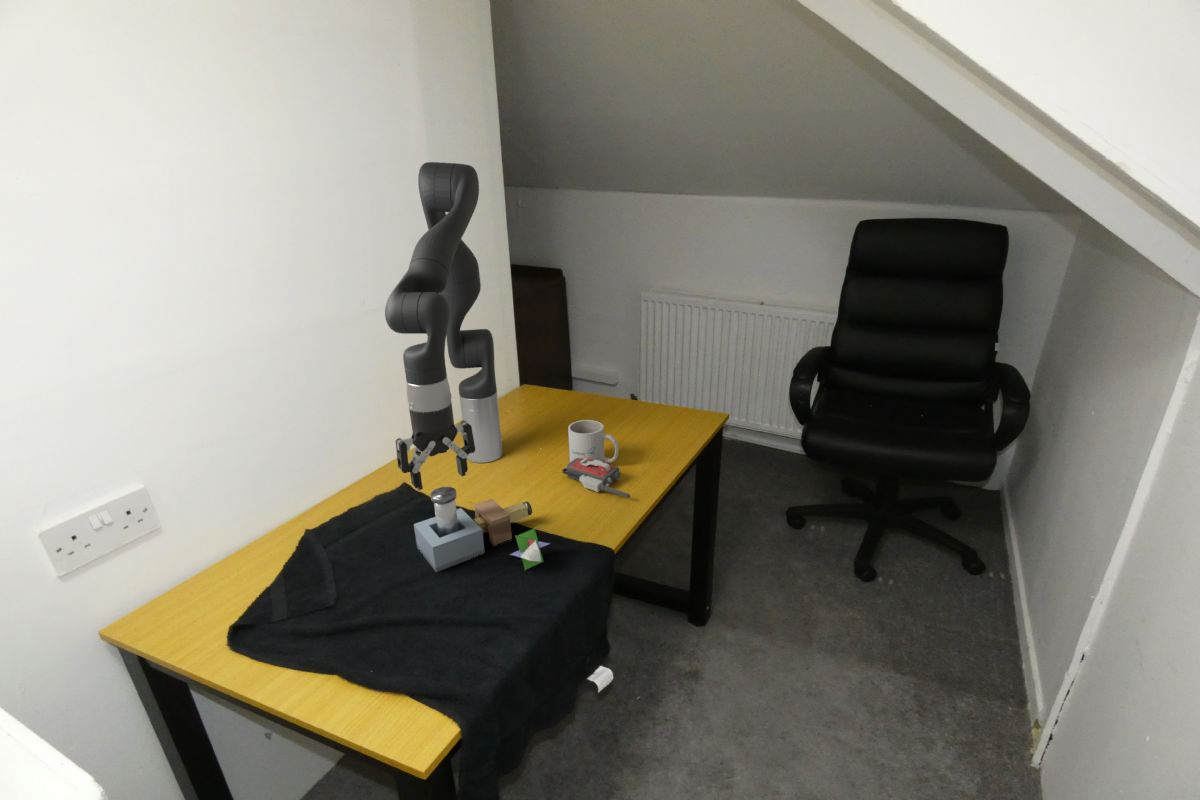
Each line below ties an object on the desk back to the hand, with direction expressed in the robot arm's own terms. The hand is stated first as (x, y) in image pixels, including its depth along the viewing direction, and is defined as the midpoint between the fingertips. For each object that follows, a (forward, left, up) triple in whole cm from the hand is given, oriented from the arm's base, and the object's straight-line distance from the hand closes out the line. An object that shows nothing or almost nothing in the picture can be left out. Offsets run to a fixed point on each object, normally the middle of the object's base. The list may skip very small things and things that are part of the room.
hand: (440, 481), depth 124 cm
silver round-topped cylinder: (0, 0, -15) cm, 15 cm away
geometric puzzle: (+13, +11, -16) cm, 23 cm away
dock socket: (0, 0, -16) cm, 16 cm away
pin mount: (0, +10, -16) cm, 18 cm away
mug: (-13, +43, -16) cm, 48 cm away
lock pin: (0, +12, -14) cm, 18 cm away
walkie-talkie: (-4, +39, -15) cm, 42 cm away
